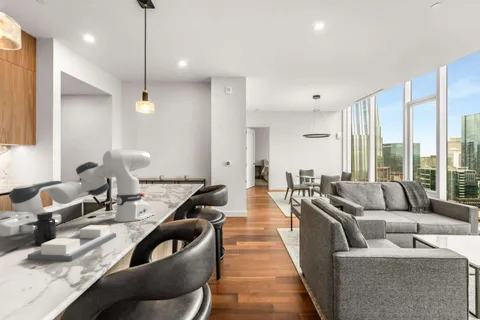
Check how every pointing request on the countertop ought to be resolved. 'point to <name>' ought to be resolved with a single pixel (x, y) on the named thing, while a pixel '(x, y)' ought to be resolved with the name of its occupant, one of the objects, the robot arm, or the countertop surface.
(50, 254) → the rail panel
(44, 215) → the supplement bottle
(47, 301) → the countertop surface
